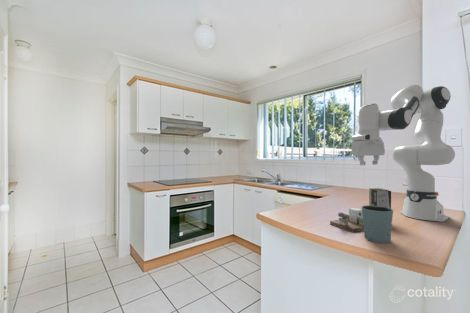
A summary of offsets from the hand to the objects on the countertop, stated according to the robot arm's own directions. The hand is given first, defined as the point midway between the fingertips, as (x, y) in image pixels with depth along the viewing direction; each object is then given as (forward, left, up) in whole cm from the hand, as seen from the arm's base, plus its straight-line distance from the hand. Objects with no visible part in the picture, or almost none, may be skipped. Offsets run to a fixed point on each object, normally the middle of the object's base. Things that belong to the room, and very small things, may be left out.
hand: (368, 164), depth 107 cm
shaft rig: (+12, +2, -28) cm, 30 cm away
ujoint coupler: (+12, +2, -27) cm, 29 cm away
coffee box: (-4, +3, -28) cm, 29 cm away
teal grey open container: (+20, +16, -28) cm, 38 cm away
